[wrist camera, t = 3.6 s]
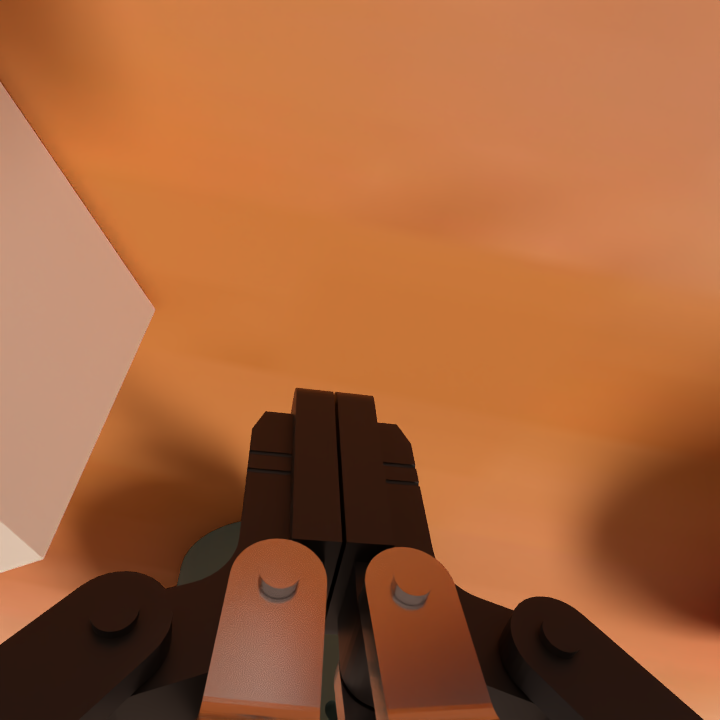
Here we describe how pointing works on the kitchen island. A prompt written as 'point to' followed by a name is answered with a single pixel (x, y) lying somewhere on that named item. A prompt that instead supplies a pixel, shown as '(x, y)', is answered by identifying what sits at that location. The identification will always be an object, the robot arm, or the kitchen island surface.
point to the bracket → (212, 557)
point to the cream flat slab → (53, 338)
